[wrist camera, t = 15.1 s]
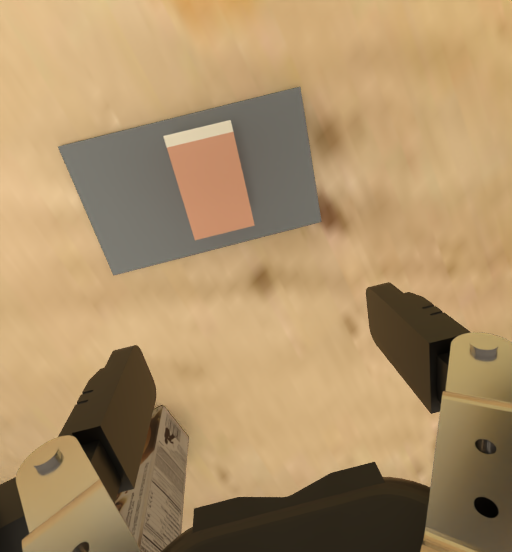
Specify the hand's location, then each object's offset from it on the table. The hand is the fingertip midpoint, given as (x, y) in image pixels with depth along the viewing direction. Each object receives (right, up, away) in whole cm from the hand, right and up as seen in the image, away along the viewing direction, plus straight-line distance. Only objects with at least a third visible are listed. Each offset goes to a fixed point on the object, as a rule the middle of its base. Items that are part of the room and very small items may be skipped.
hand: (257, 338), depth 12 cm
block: (-3, +7, +18) cm, 19 cm away
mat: (-5, +11, +20) cm, 23 cm away
